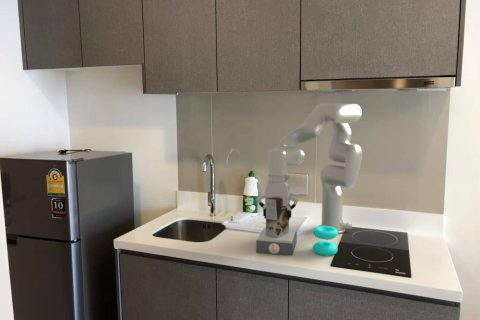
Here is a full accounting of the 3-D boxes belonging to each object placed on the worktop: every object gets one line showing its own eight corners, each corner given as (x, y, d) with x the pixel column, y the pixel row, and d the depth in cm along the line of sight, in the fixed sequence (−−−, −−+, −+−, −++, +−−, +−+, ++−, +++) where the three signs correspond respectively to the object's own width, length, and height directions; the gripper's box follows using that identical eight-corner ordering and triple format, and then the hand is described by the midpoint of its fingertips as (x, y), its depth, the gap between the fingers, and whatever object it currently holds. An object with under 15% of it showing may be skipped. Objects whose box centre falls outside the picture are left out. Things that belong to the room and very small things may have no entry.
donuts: (321, 223, 169) (342, 228, 162) (320, 245, 170) (341, 251, 164) (308, 229, 162) (330, 234, 155) (308, 252, 163) (329, 258, 156)
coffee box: (278, 238, 162) (278, 200, 160) (265, 235, 166) (265, 197, 164) (289, 232, 170) (290, 195, 167) (276, 229, 173) (277, 193, 171)
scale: (296, 242, 174) (296, 229, 173) (292, 256, 159) (292, 242, 158) (263, 239, 178) (263, 227, 177) (255, 253, 163) (255, 239, 162)
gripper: (299, 177, 165) (298, 217, 168) (258, 176, 170) (258, 214, 172) (297, 181, 158) (296, 222, 161) (255, 179, 162) (255, 219, 165)
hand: (277, 218), depth 167 cm, fingers open, 9 cm apart
